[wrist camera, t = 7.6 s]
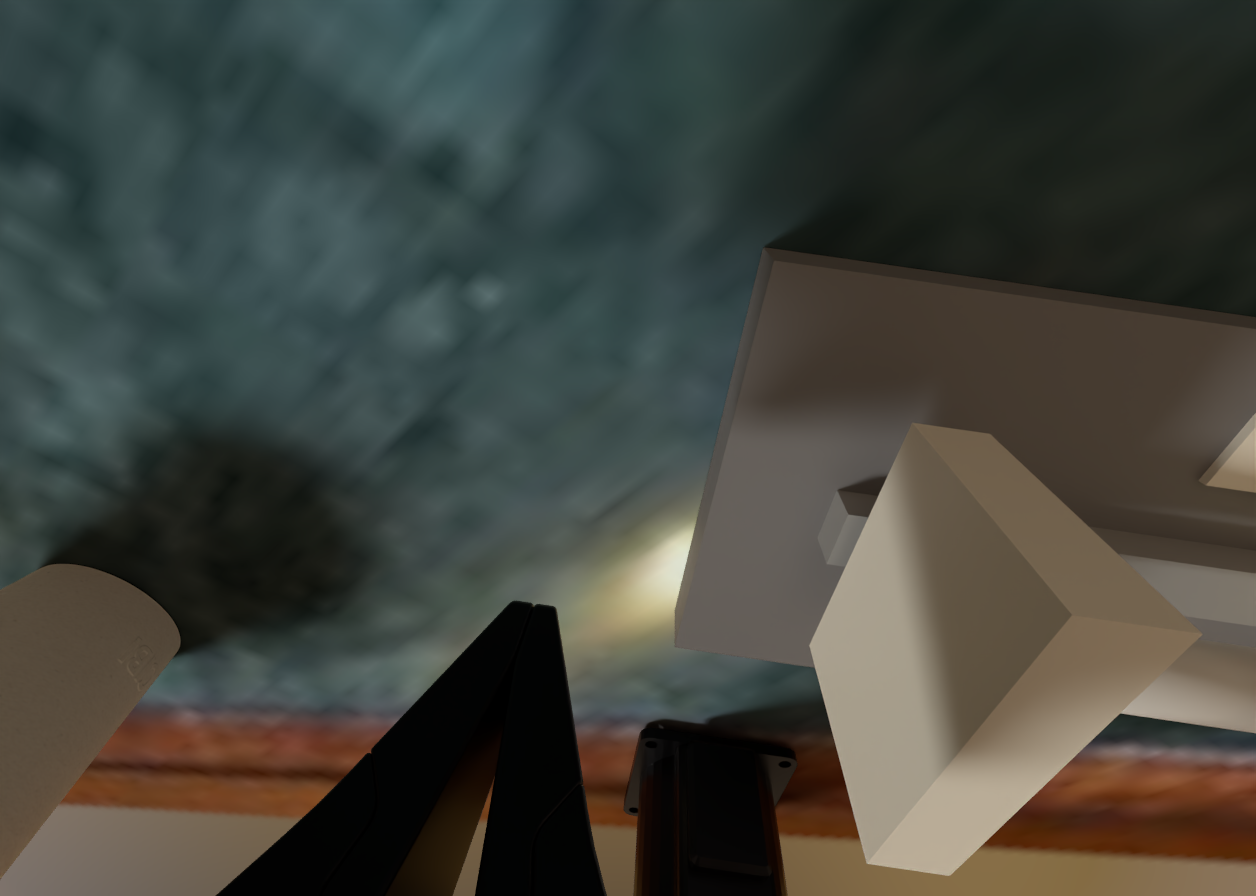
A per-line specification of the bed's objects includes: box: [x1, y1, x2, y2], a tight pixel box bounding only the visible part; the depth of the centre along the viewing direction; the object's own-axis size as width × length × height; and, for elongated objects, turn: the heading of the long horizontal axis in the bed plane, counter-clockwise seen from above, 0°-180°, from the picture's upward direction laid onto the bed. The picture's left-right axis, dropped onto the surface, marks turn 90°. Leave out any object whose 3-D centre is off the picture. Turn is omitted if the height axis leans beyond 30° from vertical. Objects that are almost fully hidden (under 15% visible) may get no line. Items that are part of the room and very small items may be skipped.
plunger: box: [809, 423, 1256, 876], centre depth 10 cm, size 7×9×5 cm
